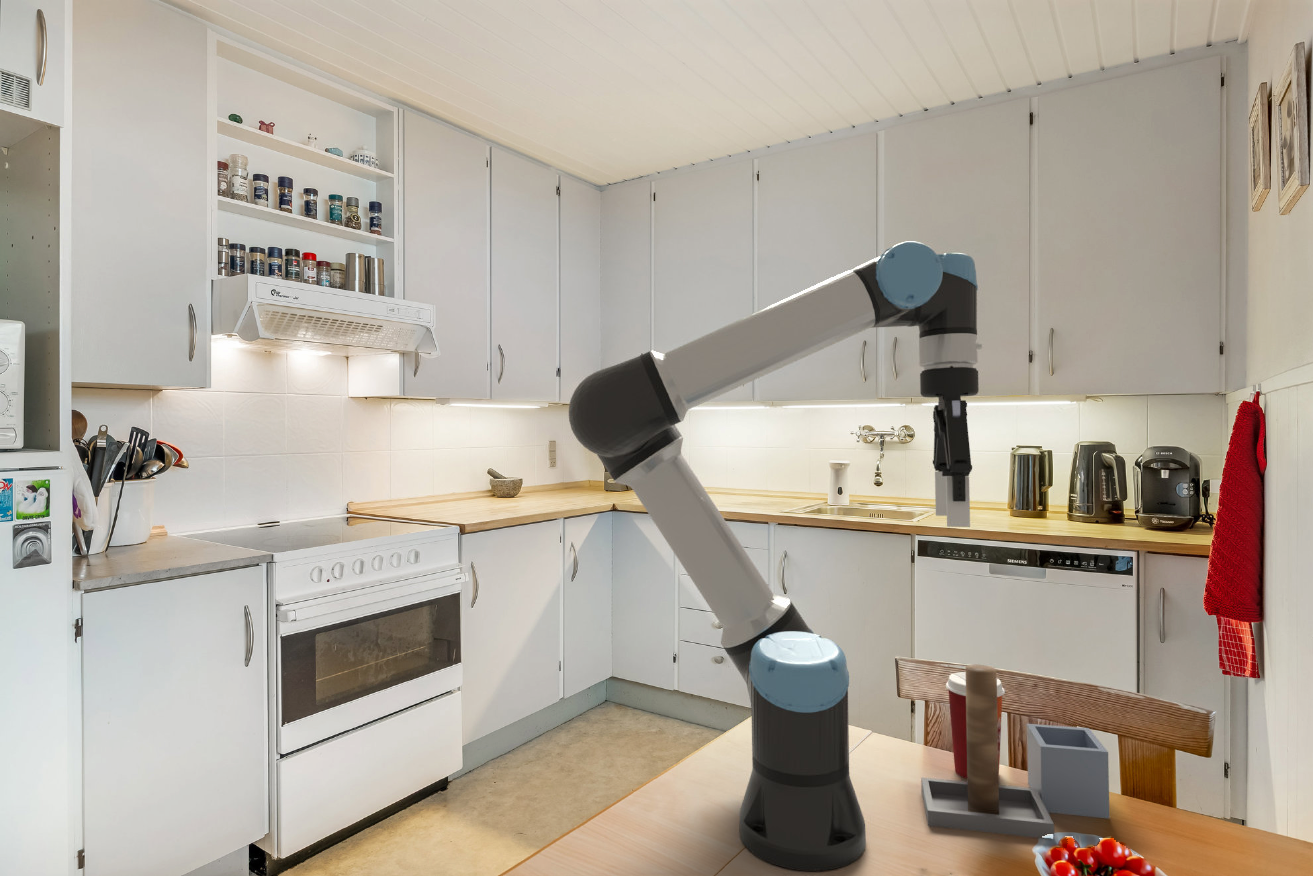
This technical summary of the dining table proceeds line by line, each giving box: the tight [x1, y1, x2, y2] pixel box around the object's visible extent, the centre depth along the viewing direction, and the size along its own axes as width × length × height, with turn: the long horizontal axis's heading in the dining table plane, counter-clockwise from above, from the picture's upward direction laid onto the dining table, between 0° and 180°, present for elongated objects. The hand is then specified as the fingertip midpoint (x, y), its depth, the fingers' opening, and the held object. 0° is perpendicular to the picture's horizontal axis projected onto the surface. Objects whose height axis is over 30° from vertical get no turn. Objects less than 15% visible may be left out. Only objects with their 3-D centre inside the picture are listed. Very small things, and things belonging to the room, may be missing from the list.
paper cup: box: [945, 671, 1006, 779], centre depth 103 cm, size 8×8×14 cm
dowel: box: [965, 664, 1000, 815], centre depth 92 cm, size 4×4×18 cm
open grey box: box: [1026, 723, 1110, 820], centre depth 95 cm, size 8×8×9 cm
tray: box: [920, 777, 1055, 839], centre depth 92 cm, size 14×9×3 cm, turn 75°
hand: (951, 521), depth 101 cm, fingers open, 13 cm apart
